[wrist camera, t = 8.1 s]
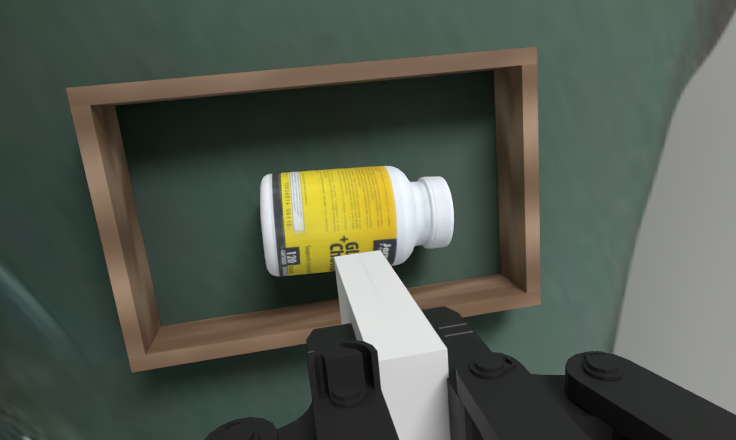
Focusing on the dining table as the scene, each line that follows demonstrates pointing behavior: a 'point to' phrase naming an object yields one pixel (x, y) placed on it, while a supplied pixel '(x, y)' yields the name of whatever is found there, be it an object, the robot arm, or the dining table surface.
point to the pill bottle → (350, 216)
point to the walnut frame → (295, 323)
